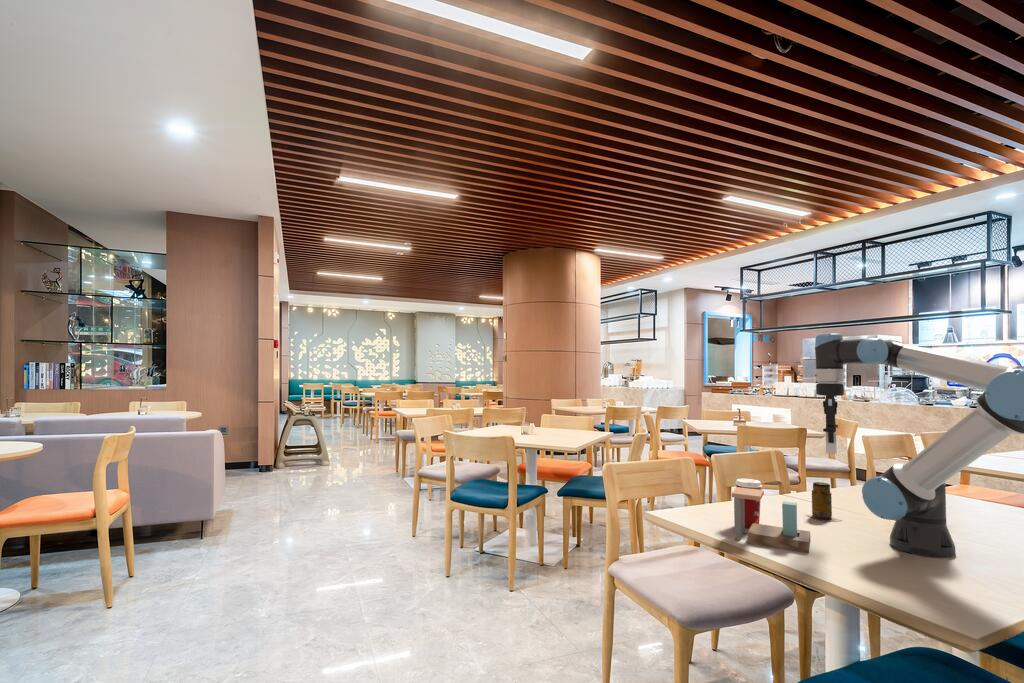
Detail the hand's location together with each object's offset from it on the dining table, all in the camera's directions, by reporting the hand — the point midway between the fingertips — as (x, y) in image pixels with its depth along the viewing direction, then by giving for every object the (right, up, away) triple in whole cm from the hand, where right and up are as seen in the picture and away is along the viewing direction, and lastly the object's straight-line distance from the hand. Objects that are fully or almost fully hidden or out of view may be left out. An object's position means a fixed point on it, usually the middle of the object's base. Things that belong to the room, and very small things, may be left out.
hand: (831, 450), depth 165 cm
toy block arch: (-27, -26, -2) cm, 38 cm away
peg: (-17, -26, -8) cm, 32 cm away
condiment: (+10, -28, +21) cm, 36 cm away
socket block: (-19, -26, -6) cm, 33 cm away
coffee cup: (-21, -27, +10) cm, 36 cm away
